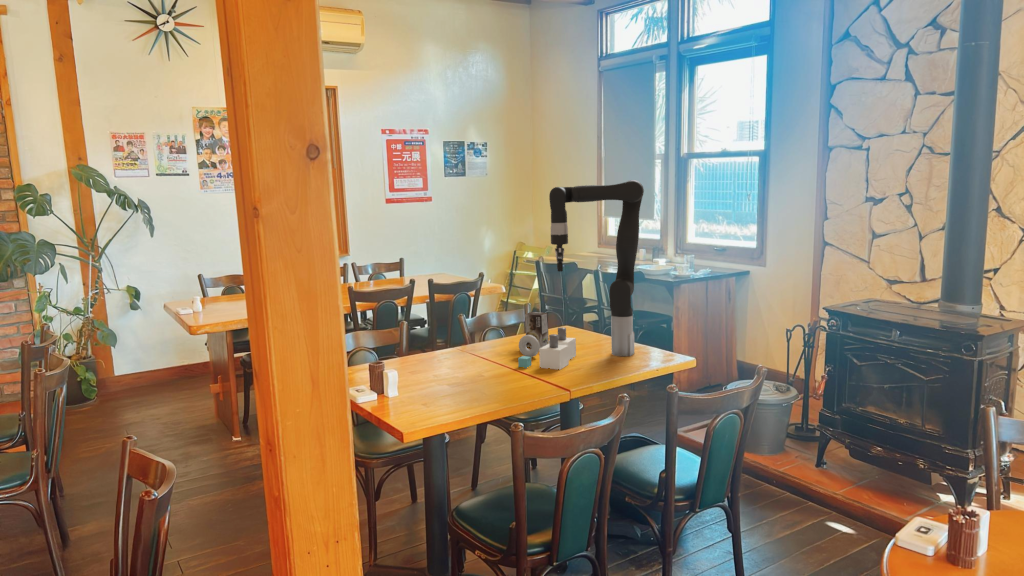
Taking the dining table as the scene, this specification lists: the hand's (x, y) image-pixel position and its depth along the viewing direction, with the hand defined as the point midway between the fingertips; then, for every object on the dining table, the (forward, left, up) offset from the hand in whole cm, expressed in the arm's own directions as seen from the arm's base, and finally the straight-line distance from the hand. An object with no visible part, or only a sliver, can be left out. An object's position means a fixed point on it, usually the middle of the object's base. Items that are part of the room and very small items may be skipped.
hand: (559, 270), depth 292 cm
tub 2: (-6, +22, -37) cm, 44 cm away
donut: (+10, +12, -37) cm, 41 cm away
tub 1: (-4, +8, -37) cm, 38 cm away
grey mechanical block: (+15, -7, -37) cm, 41 cm away
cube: (+5, +27, -37) cm, 46 cm away
